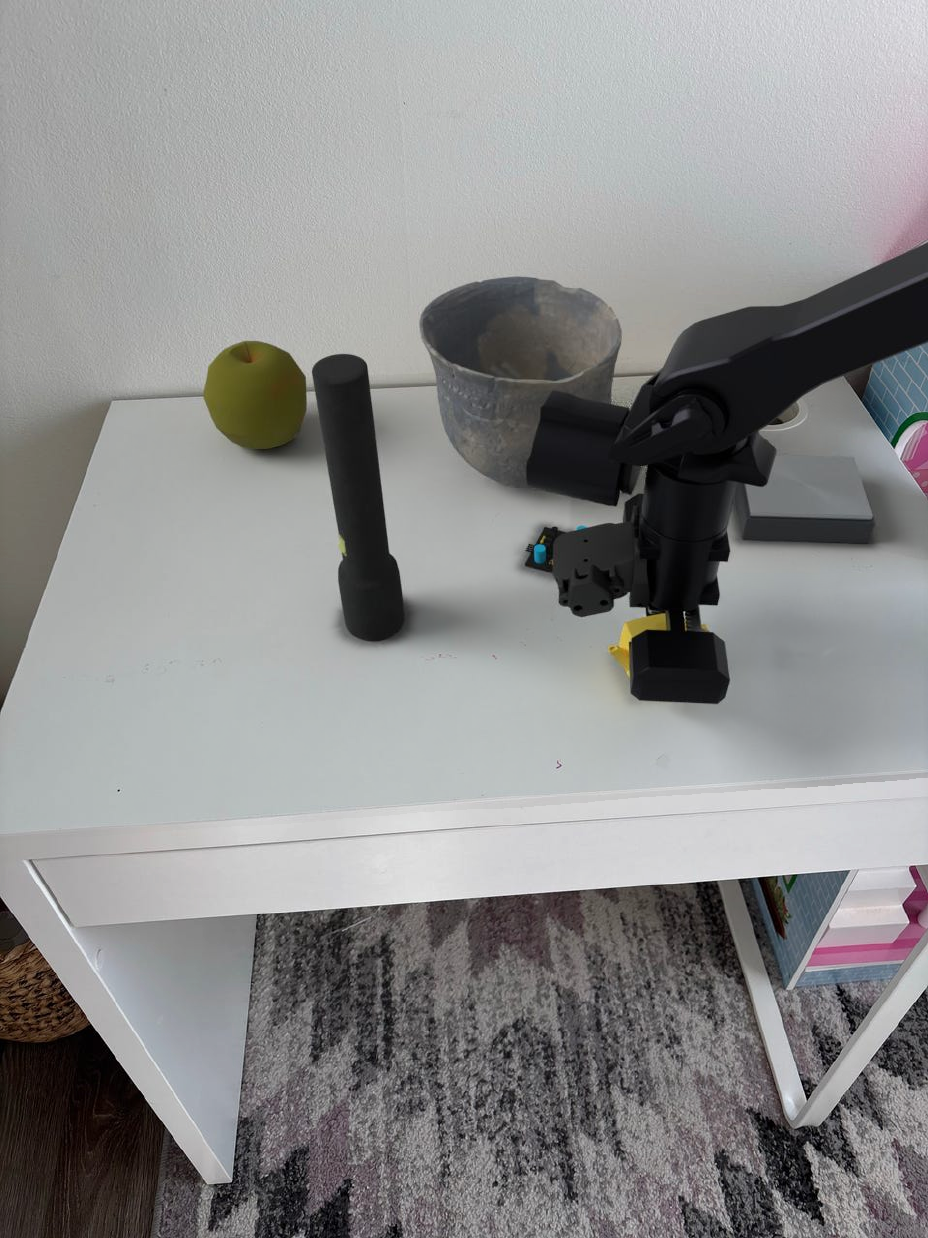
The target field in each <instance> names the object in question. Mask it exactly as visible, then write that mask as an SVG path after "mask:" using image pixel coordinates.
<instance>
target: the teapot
mask: <svg viewBox="0 0 928 1238" xmlns="http://www.w3.org/2000/svg"><path fill="white" fill-rule="evenodd" d="M684 620H685V617H684ZM685 622H686V620H685ZM701 626H702V628H703V629H705V630H708V631H709V632H710V630H709V628H708V626H707V624H705V623H701ZM646 629H649V630H667V628H666V616H665V613H663V614H657V615H652V616H647V617H646V616H642V617H639V618H634V619H630V620H627V621H625V622H624V624H623V627H622V631H621V632H620V633H621V634H620V637H619V642H618V645H617V644H613V645H610V646H608V647H607V650H608V652H609V654H610V656H612V657H613V658H614V659H615V660H616V661H617V662H618V663H619V664H620V665H621V666H622V667H623V668H624V669H625V673H626V674H627V677H628V679H629V680H630V668H629V661H630V658H629V642H631V638H632V637H634V636H636V635H638V634H639V633H641V632H643V631H645V630H646ZM685 630H687V628H686V623H685Z"/></svg>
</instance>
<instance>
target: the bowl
mask: <svg viewBox="0 0 928 1238" xmlns="http://www.w3.org/2000/svg"><path fill="white" fill-rule="evenodd" d="M418 320H419V321H418V326H419V327H418V328H419V334H420V335H419V336H420V339H421V342H422V343H423V344H424V346H425V348H426V351H427V352H428V354H429V357H430V360H431V363H432V366H433V370H434V374H435V379H436V391H437V392H436V393H437V401H438V402H437V403H438V406H439V415H440V418H441V422H442V426H443V428H444V431H445V433H446V435H447V437H448V440H449V442H450V444H451V445H452V447H453V449H455V451H456V453H458V454H459V455H460V457H461V458H462V459H463V460H464V461H465V462H466V463H467V464H468V465H469V466H470V467H471V468H473V469H474V470H475V471H477V472H478V473H480V474H481V475H482V476H484V477H487V478H489V479H490V480H492V481H495V482H497V483H499V484H501V485H505V486H508V487H514V488H518V489H530V488H529V486H528V485H527V480H526V464H527V460H528V458H529V457H530V455H531V450H532V445H533V441H534V437H535V433H536V430H537V427H538V424H539V421H540V407H541V405H542V404H543V402H544V400H545V399H546V397H547V395H548V394H549V392H550V391H552V390H556V391H561V392H566V393H570V394H572V395H575V396H577V397H579V398H583V399H588V400H593V401H598V402H603V403H608V404H613V402H612V400H613V399H612V392H613V391H612V390H613V389H612V388H613V380H614V375H615V369H616V364H617V360H618V356H619V352H620V349H621V346H622V341H623V340H622V337H623V336H622V335H623V333H622V327H621V324H620V323H621V322H620V321H619V318H618V317H617V315H616V314H615V312H614V310H613V308H612V307H611V306H609V305H608V303H606V302H605V301H604V300H603V299H602V298H601V297H599V296H597V294H594V293H592V292H590V291H588V290H586V289H584V288H582V287H576V288H574V287H567V286H563V285H562V284H560V283H559V282H557V281H556V280H553V279H542V278H538V277H530V276H520V275H519V276H517V275H516V276H515V275H514V276H507V277H506V276H505V277H497V278H489V279H484V280H482V281H473V282H469V283H465V284H463V285H460V286H457V287H455V288H453V289H450V290H449V291H446V292H444V293H441V294H440V295H439V296H437V297H435V298H434V299H432V300H431V301H430V302H429V303H428V304H427V305H426V306H425V307H424V309H423V311H422V312H421V314H420V316H419V319H418Z"/></svg>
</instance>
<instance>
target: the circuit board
mask: <svg viewBox="0 0 928 1238" xmlns="http://www.w3.org/2000/svg"><path fill="white" fill-rule="evenodd" d="M587 527H588V526H586V525H578V526H577V527H576V530H579V529H583V528H587ZM567 532H568V531H564V530H560V529H559V527H557V526H551V527H547V526H544V527H543V529H542V531H541V532H540V535H539V536H538V539H537V540H536V542H535V544H532V543H528V545H527V547H526V549H524V550H525V551H524V552H527V553H529V555H528V557H527V559H526V560H525V562H524V567H527V568H530V569H531V568H532V569H535V570H539V571H542V572H547V573H551V574H553V544H554V541H555V539H556V538H557V537H558V536H560V535H561V534H564V533H567Z"/></svg>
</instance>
